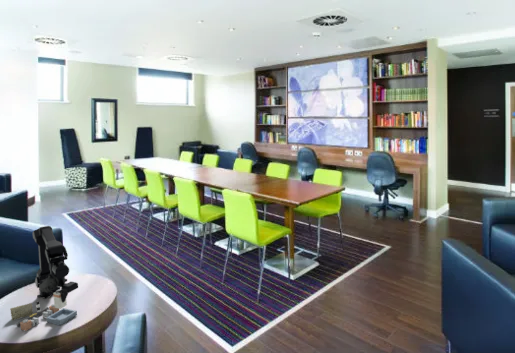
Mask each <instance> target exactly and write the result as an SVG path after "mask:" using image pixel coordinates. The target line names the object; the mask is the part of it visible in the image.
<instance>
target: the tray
mask: <svg viewBox="0 0 515 353" xmlns="http://www.w3.org/2000/svg"><path fill="white" fill-rule="evenodd" d="M76 316H78V312H77V310H74V309H69V308H65V307H63V308H61V309H59V311H57V312H56V313H54V314H52V315H50V316H49V317H47V318H46V322H47V323H50V324H54V325H58V326H62V325H63V324H65V323H67V322H68V321H70V320H72V319H74V318H75V317H76Z"/></svg>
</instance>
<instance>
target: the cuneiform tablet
mask: <svg viewBox="0 0 515 353" xmlns="http://www.w3.org/2000/svg"><path fill="white" fill-rule="evenodd" d="M40 305H41V304H40V300H38V301H36V302H35V307H36V313H37V312H40V311H41V306H40ZM33 314H34V307H33V303H32V302H30V303H26V304H22V305H18V306H14V307H11V308H10V317H11V321H16V320H19V319H23V318H28V317H29V316H31V315H33Z"/></svg>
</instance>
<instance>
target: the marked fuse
mask: <svg viewBox="0 0 515 353" xmlns="http://www.w3.org/2000/svg"><path fill="white" fill-rule="evenodd" d="M60 290H61V288H60V289H59V290H57V291H56V292H54V293H53V295H52V296H53V304H54V305H55V308H59V310H61V309H63V308H65V307H66V306H67V305H68V304H67V299H66V300H65V302H62V300H61V294H60V293H59V292H58V291H60Z"/></svg>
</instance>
